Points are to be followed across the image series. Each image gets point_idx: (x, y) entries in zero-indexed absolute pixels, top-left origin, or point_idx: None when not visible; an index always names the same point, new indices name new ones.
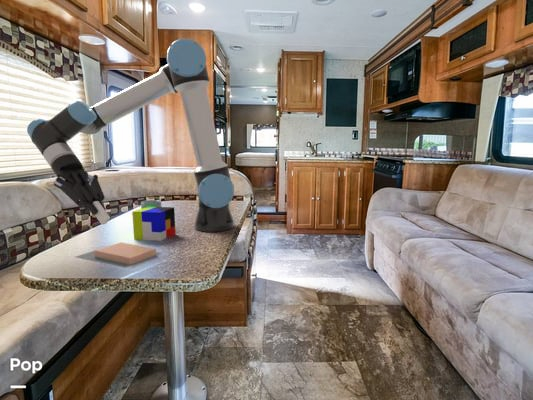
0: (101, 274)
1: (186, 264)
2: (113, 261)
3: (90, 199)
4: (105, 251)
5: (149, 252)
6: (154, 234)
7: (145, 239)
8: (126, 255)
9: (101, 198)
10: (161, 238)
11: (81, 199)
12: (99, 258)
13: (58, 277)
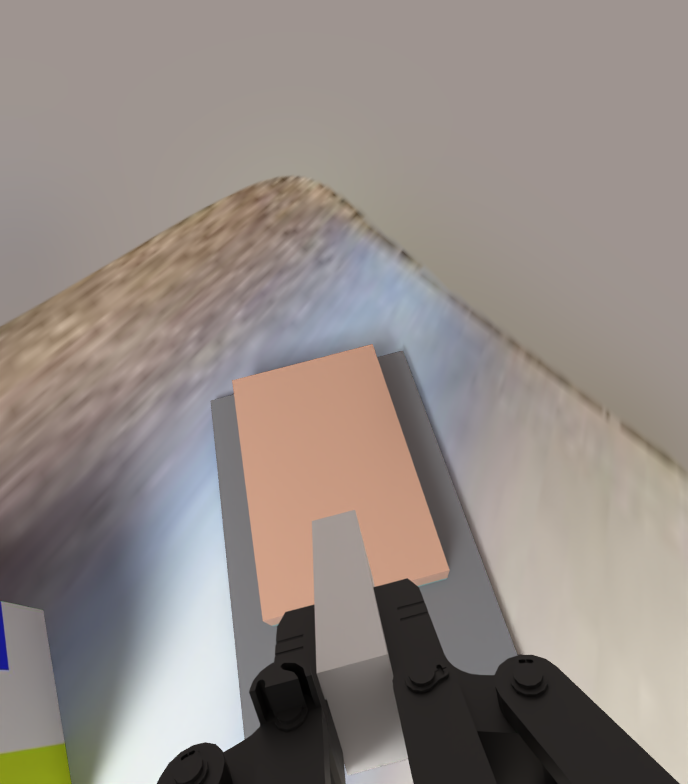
0: (488, 365)
1: (241, 270)
2: None
3: (414, 699)
4: (410, 502)
5: (272, 373)
6: (17, 651)
7: (54, 723)
8: (367, 380)
9: (262, 670)
10: (26, 607)
11: (557, 676)
12: None
13: (638, 445)
